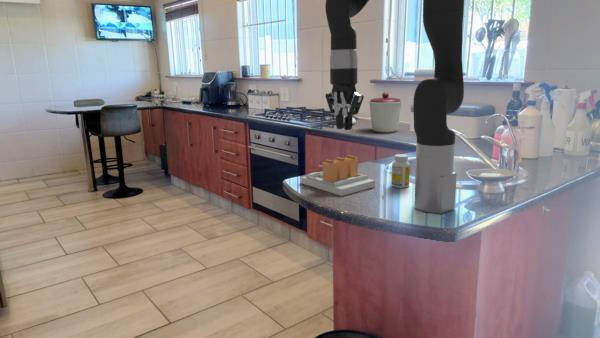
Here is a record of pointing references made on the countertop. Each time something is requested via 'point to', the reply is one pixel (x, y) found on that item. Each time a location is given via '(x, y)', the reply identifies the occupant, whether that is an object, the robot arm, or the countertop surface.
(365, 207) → the countertop surface
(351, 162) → the tab
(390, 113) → the canister
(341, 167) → the tab
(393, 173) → the supplement bottle
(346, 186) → the switch bank
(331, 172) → the tab
